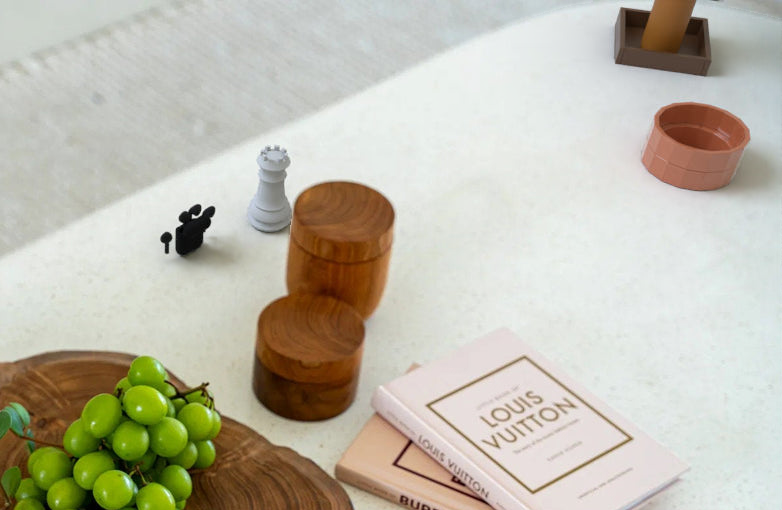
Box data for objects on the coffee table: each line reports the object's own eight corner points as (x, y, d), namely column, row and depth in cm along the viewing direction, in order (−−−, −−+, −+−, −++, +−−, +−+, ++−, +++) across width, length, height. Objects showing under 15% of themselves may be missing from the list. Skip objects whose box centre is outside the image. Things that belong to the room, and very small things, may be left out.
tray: (700, 37, 140) (708, 18, 138) (704, 80, 133) (711, 60, 131) (614, 25, 142) (620, 6, 140) (613, 67, 135) (619, 47, 133)
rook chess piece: (240, 211, 115) (244, 143, 110) (281, 203, 116) (287, 135, 110) (255, 237, 112) (260, 169, 107) (297, 229, 113) (305, 161, 108)
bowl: (730, 150, 123) (747, 109, 120) (735, 201, 117) (753, 159, 114) (639, 136, 125) (653, 96, 121) (639, 185, 119) (654, 144, 115)
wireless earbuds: (209, 231, 113) (210, 189, 109) (227, 243, 112) (229, 201, 108) (157, 262, 110) (156, 219, 106) (174, 274, 109) (175, 232, 105)
